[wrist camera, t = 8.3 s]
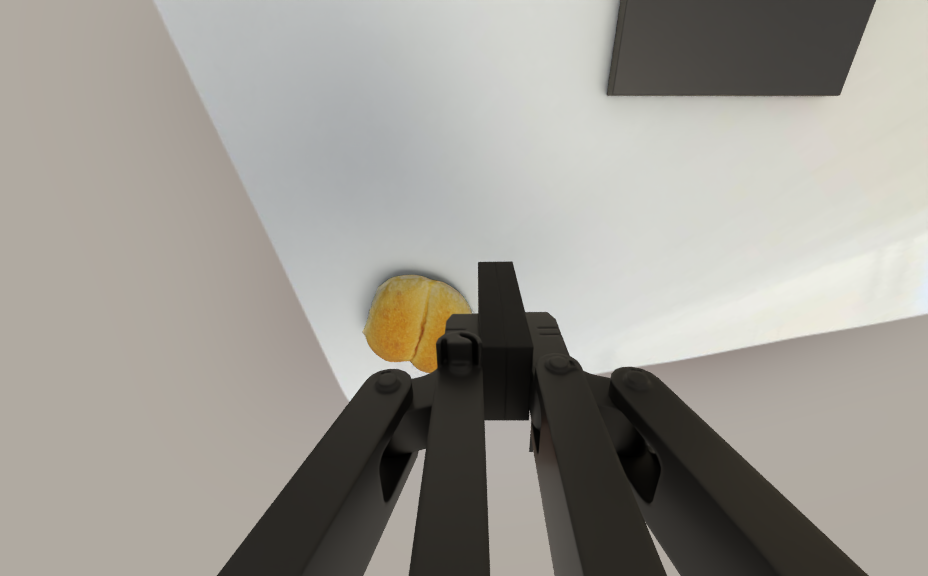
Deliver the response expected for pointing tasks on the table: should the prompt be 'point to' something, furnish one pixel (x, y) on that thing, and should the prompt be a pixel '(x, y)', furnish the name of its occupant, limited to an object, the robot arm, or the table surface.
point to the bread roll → (411, 319)
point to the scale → (735, 47)
